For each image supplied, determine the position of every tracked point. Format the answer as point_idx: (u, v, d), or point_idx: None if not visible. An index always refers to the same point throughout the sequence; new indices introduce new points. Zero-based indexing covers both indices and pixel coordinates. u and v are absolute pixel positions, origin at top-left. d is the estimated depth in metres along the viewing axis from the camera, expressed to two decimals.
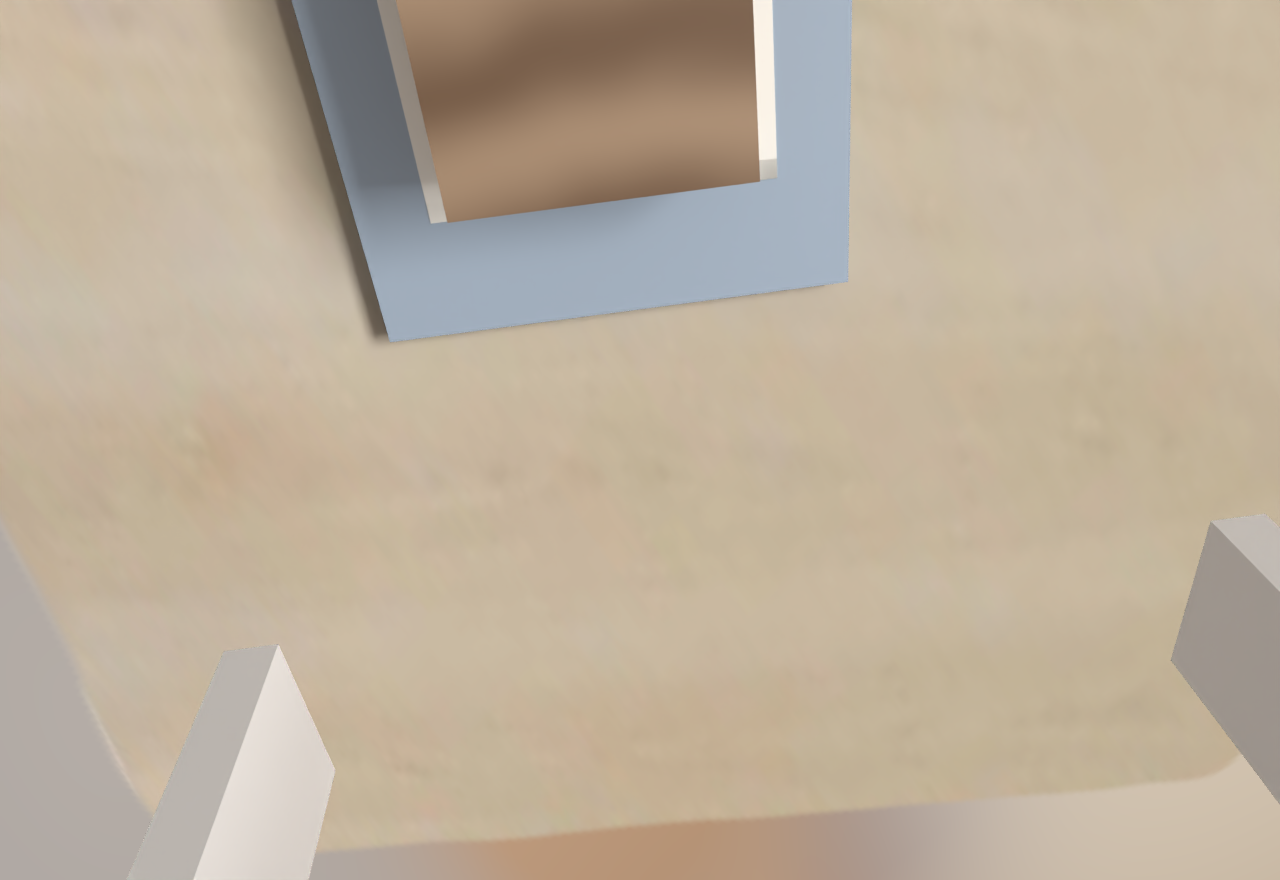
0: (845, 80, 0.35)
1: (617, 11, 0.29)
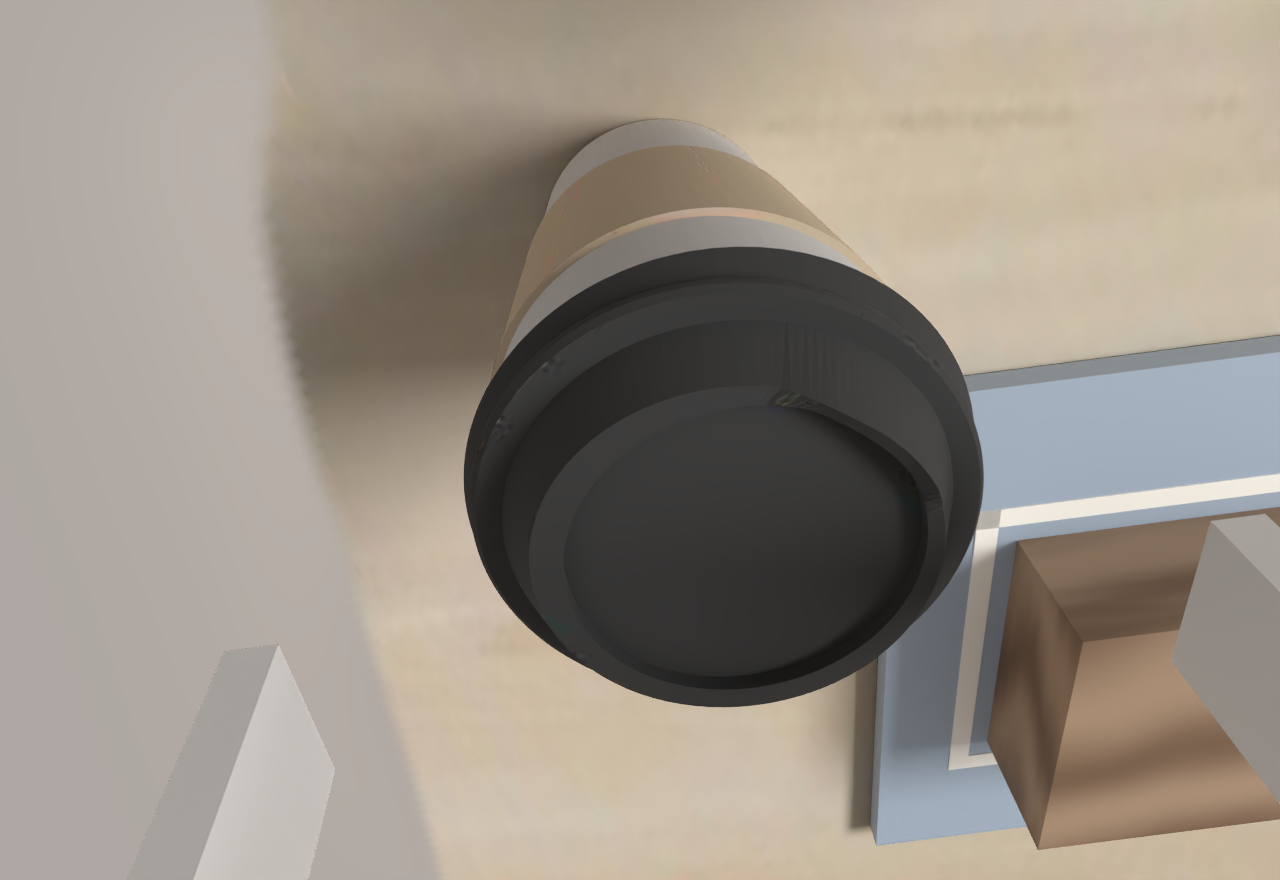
0: None
1: None
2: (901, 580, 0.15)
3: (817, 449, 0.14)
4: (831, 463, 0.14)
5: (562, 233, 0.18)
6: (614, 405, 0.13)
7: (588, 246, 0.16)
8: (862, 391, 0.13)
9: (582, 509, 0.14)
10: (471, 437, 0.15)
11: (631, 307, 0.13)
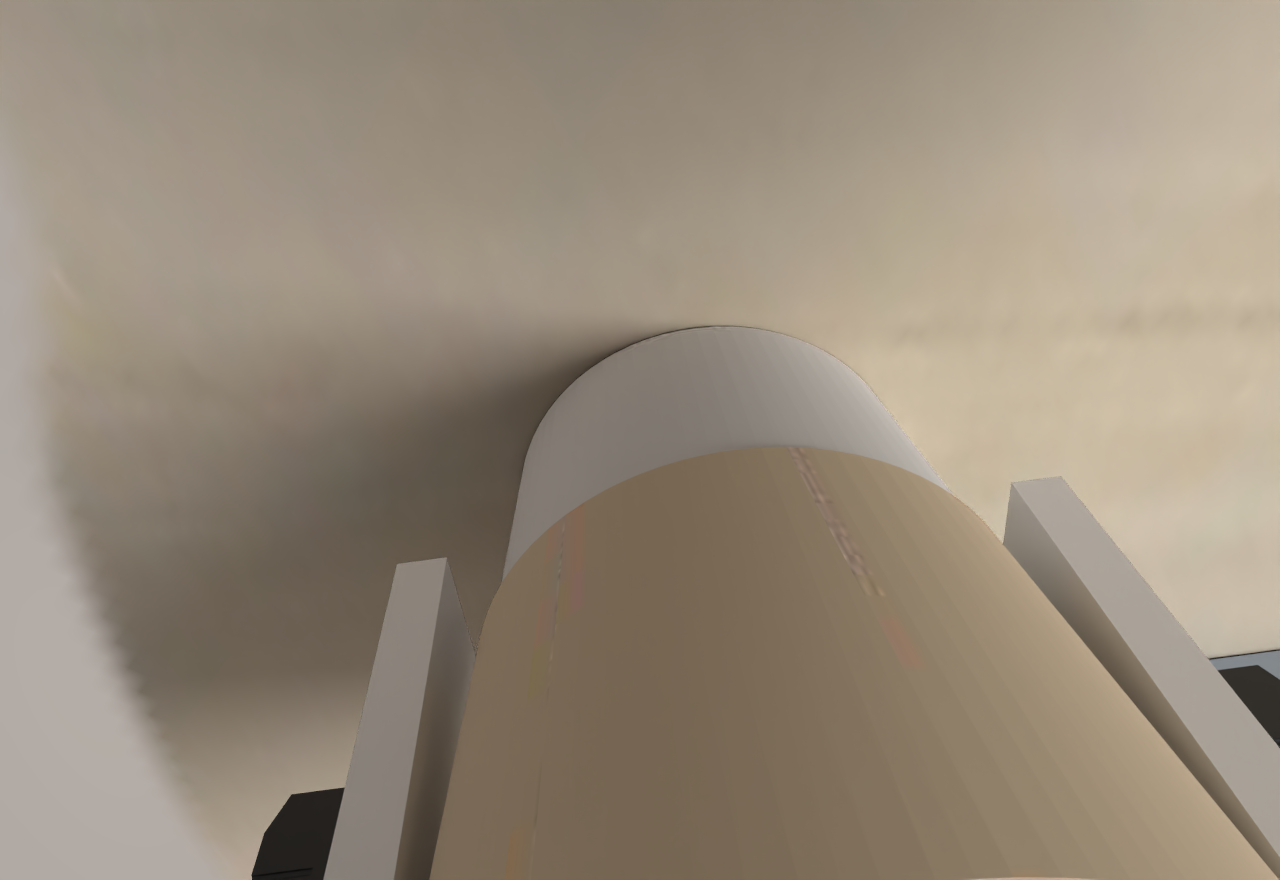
0: None
1: None
2: None
3: None
4: None
5: (544, 759, 0.08)
6: None
7: None
8: None
9: None
10: None
11: None
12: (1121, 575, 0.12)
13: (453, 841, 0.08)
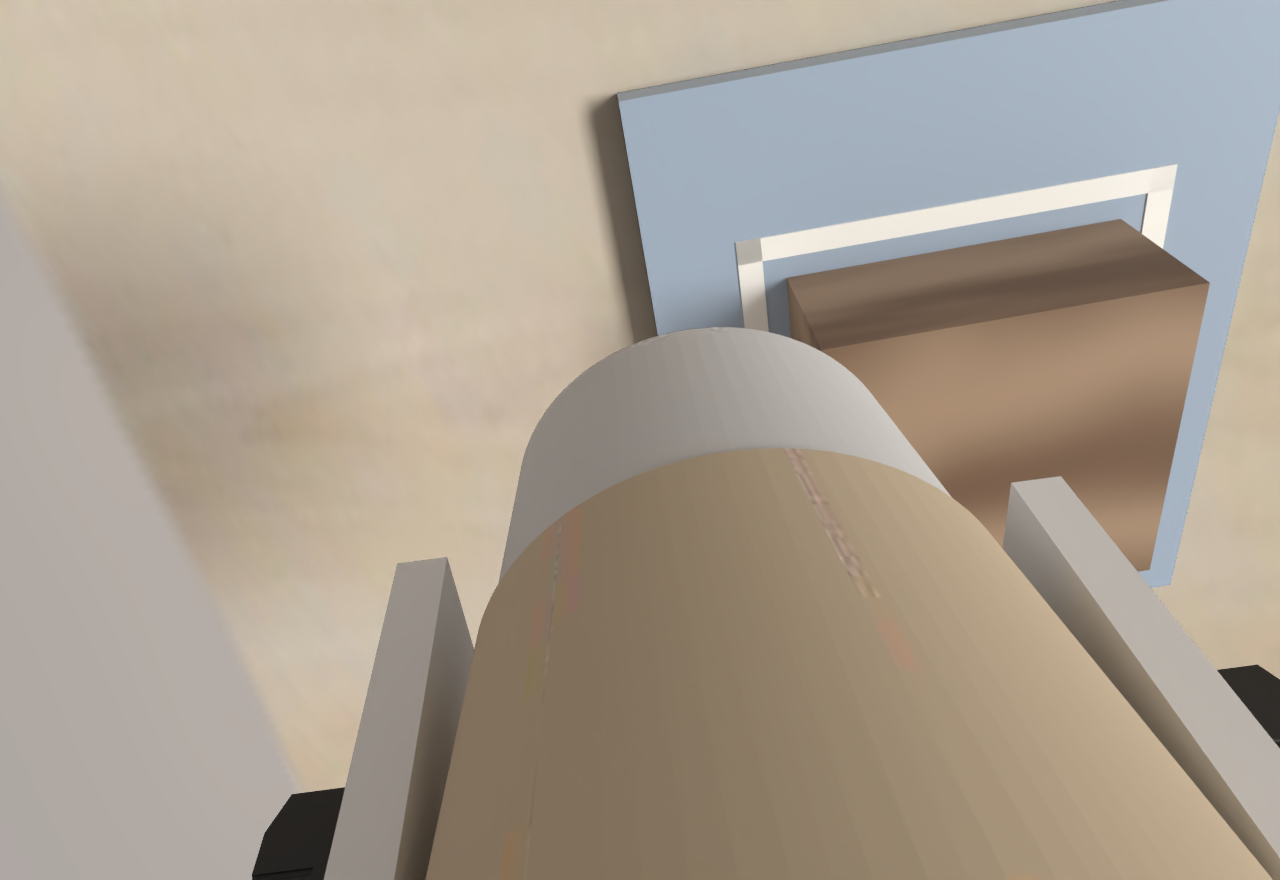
0: (1201, 426, 0.35)
1: (1041, 452, 0.29)
2: None
3: None
4: None
5: (539, 761, 0.08)
6: None
7: None
8: None
9: None
10: None
11: None
12: (1120, 575, 0.12)
13: (448, 843, 0.08)
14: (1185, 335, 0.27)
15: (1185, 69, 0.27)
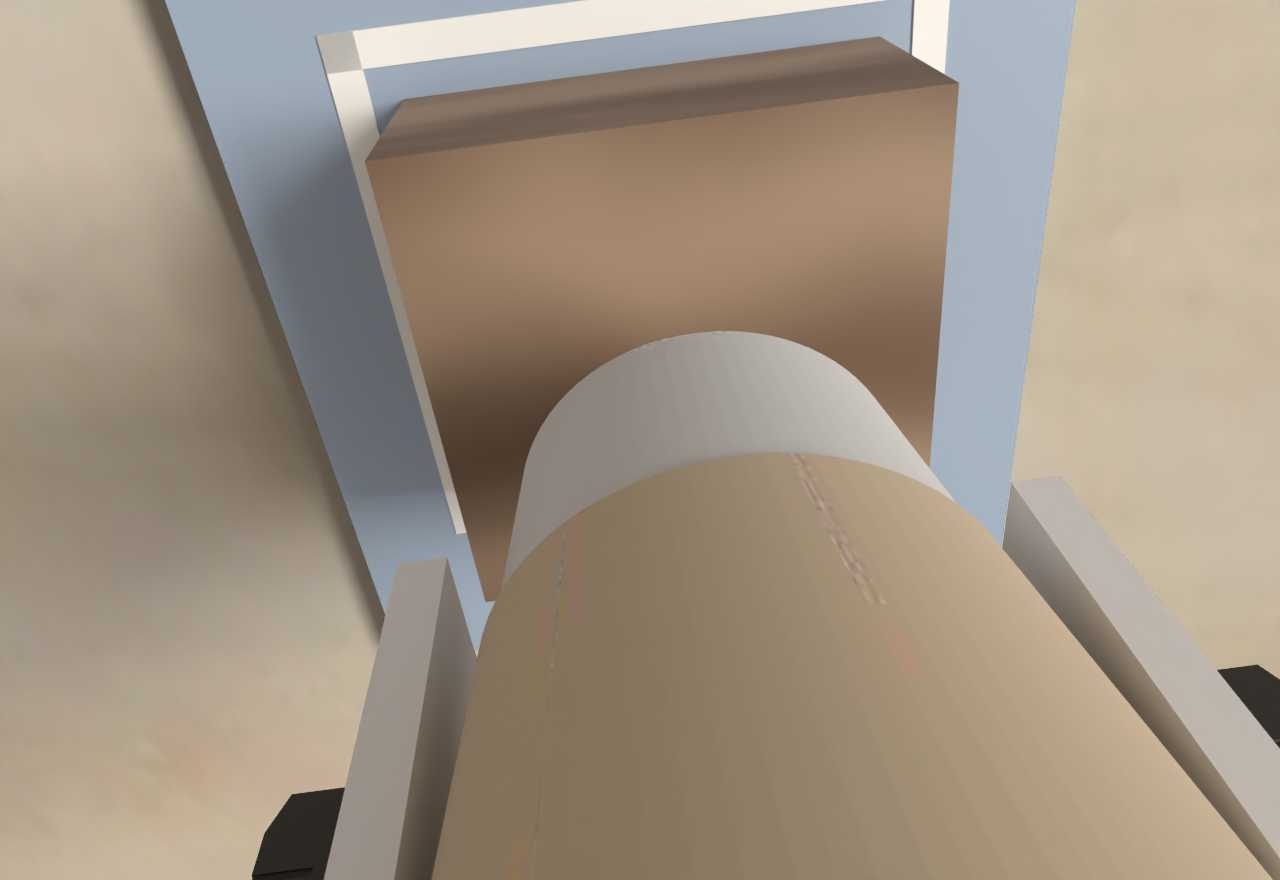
0: (1019, 361, 0.26)
1: None
2: None
3: None
4: None
5: (544, 768, 0.08)
6: None
7: None
8: None
9: None
10: None
11: None
12: (1121, 575, 0.12)
13: (453, 850, 0.08)
14: (931, 172, 0.18)
15: None
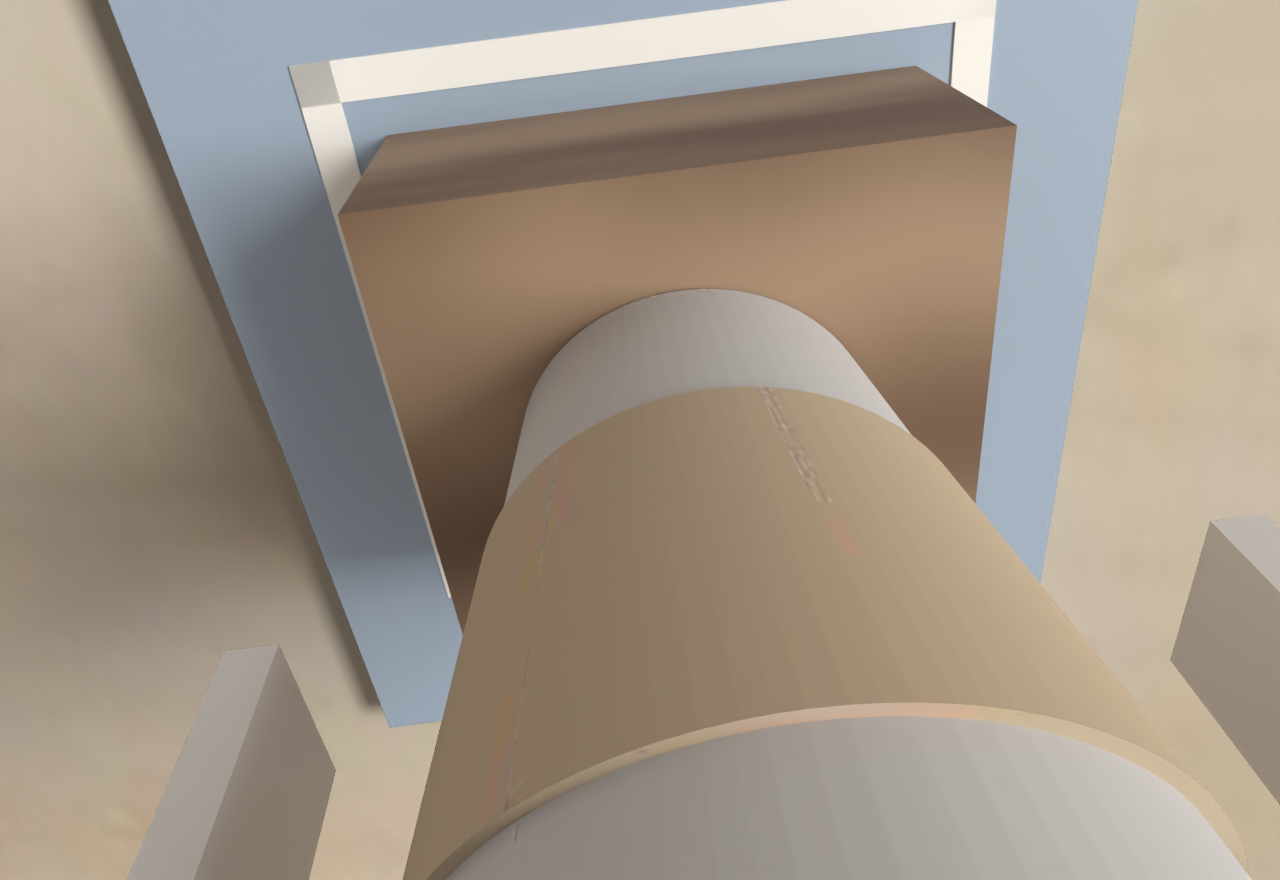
0: (1060, 414, 0.24)
1: None
2: None
3: None
4: None
5: (532, 637, 0.09)
6: None
7: (581, 773, 0.07)
8: None
9: None
10: None
11: None
12: None
13: (453, 715, 0.10)
14: (983, 224, 0.16)
15: None
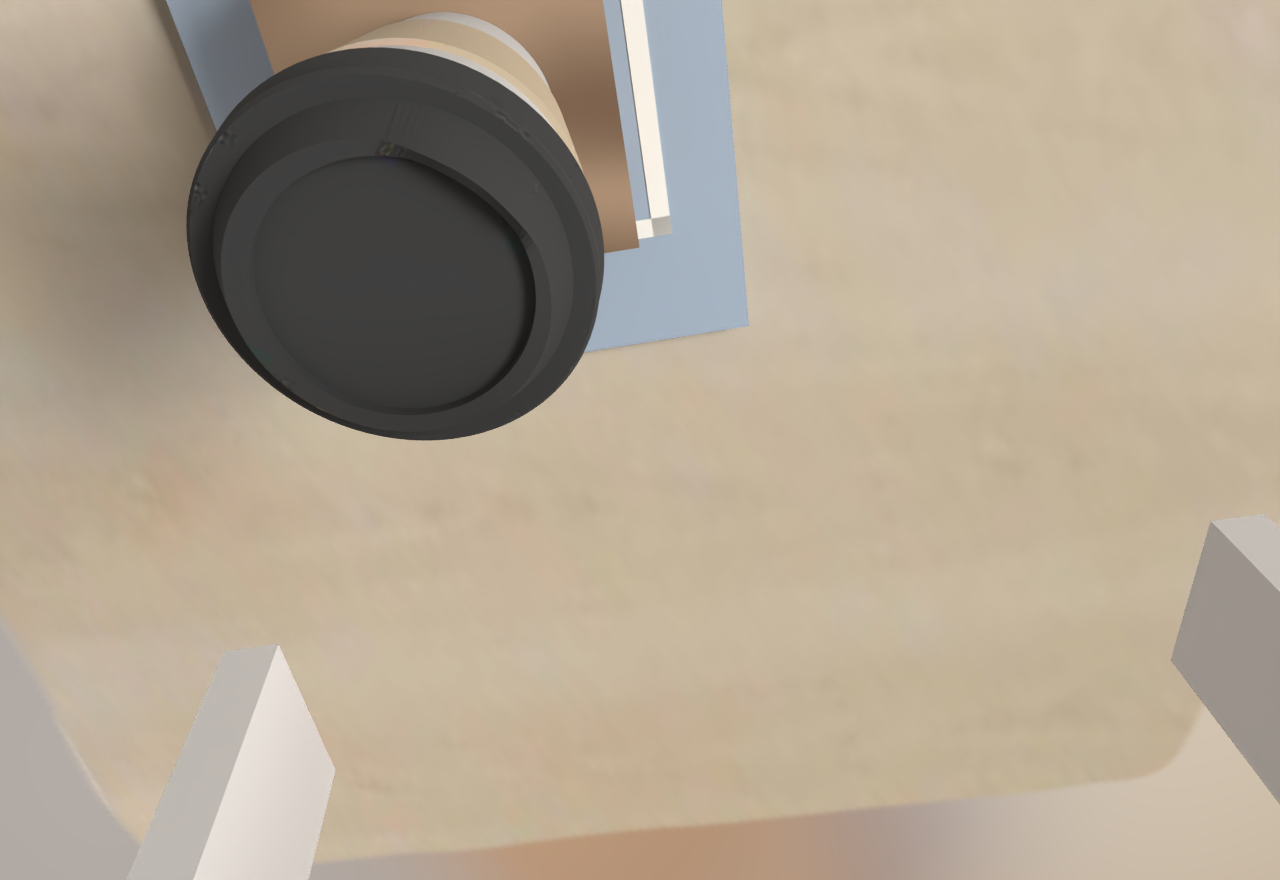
0: (728, 142, 0.37)
1: None
2: (530, 316, 0.20)
3: (432, 198, 0.18)
4: (446, 211, 0.18)
5: None
6: (264, 160, 0.18)
7: None
8: (449, 145, 0.18)
9: (262, 253, 0.19)
10: None
11: (277, 88, 0.18)
12: None
13: None
14: None
15: None
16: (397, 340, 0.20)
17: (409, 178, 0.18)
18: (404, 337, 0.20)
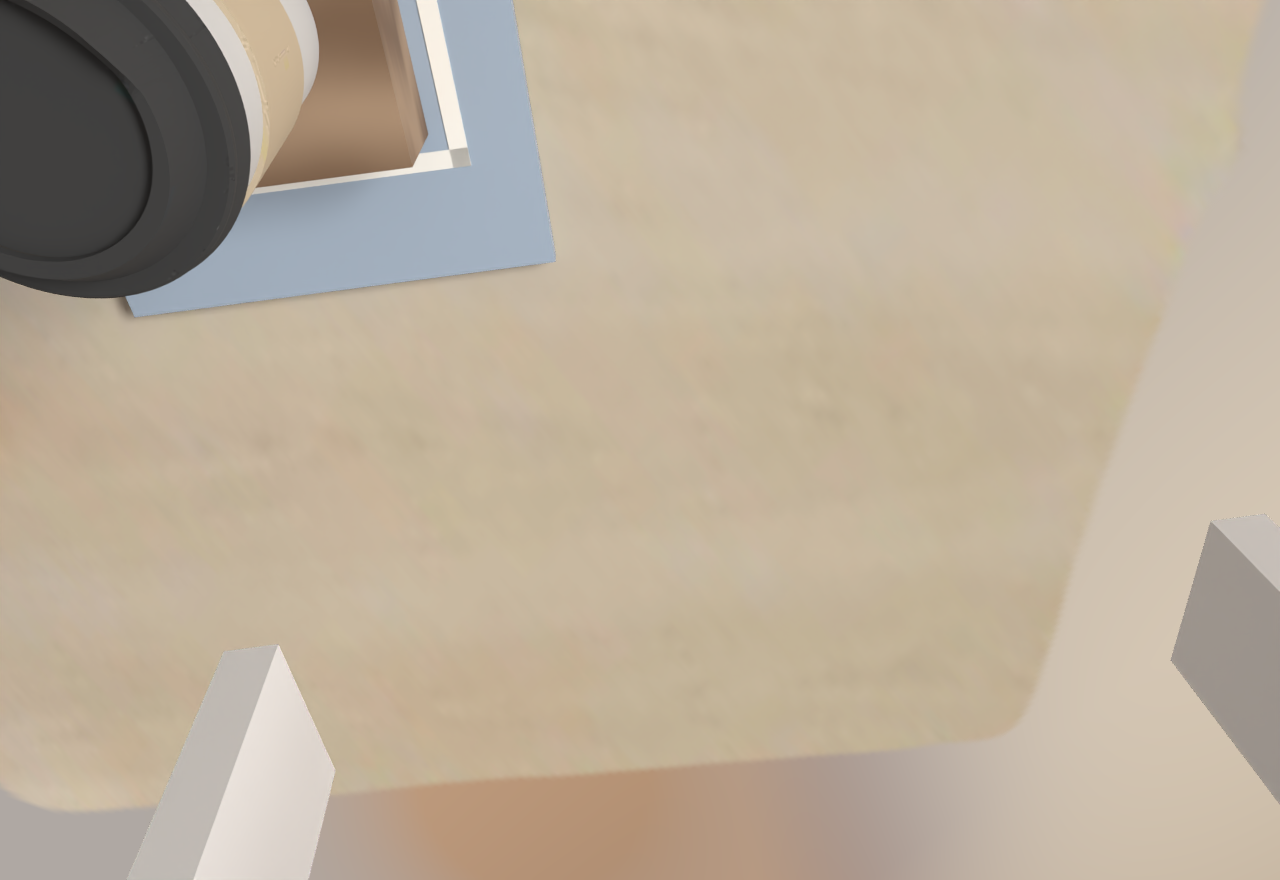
0: (519, 76, 0.39)
1: None
2: (153, 166, 0.21)
3: (35, 41, 0.19)
4: (52, 54, 0.20)
5: None
6: None
7: None
8: None
9: None
10: None
11: None
12: None
13: None
14: None
15: None
16: (28, 185, 0.21)
17: (9, 19, 0.19)
18: (34, 183, 0.21)
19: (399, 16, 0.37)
